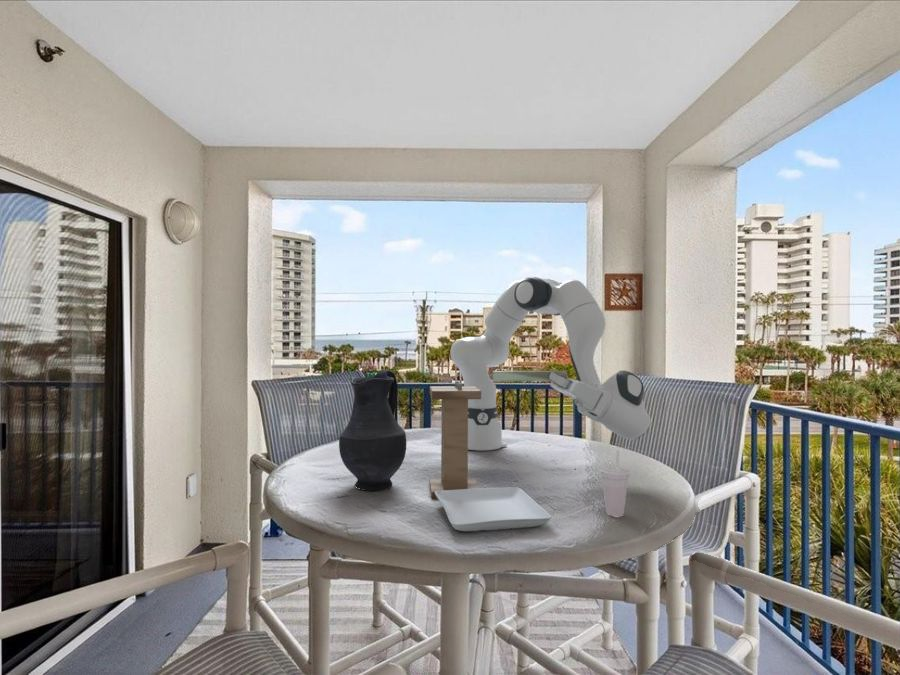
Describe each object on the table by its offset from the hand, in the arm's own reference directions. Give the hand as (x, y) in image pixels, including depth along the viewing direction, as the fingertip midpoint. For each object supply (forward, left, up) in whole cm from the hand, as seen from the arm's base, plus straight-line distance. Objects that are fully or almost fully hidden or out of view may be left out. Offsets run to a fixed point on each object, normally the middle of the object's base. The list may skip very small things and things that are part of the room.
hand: (547, 374), depth 133 cm
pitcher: (-7, -44, -30) cm, 54 cm away
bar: (0, -5, -2) cm, 5 cm away
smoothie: (+20, +10, -30) cm, 37 cm away
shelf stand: (0, -24, -30) cm, 38 cm away
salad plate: (+19, -18, -30) cm, 40 cm away
